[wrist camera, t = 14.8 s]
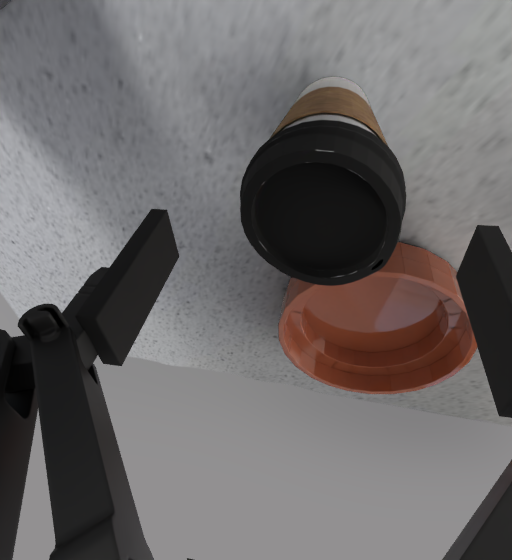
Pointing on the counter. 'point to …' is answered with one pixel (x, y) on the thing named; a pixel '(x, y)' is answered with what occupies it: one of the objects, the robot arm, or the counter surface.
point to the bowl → (380, 326)
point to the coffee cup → (325, 189)
